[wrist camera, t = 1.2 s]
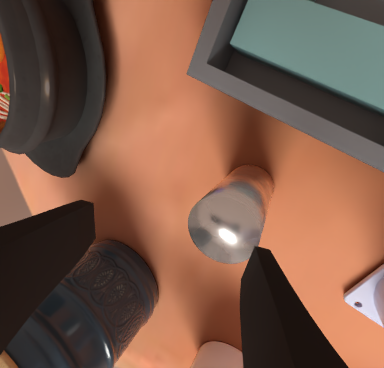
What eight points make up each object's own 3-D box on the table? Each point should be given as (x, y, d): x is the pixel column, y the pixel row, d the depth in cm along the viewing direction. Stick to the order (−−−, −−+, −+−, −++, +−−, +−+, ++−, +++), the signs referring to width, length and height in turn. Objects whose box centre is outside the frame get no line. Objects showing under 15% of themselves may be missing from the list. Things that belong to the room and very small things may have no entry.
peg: (283, 180, 17) (276, 226, 10) (257, 216, 18) (235, 276, 12) (240, 156, 17) (205, 182, 11) (219, 192, 19) (178, 235, 12)
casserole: (106, 197, 27) (36, 228, 19) (17, 142, 32) (-63, 150, 25) (143, -69, 16) (16, -225, 9) (0, -87, 21) (-154, -193, 14)
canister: (114, 220, 27) (-112, 353, 12) (178, 298, 26) (19, 549, 11) (81, 260, 34) (-93, 378, 19) (130, 323, 33) (-10, 502, 18)
